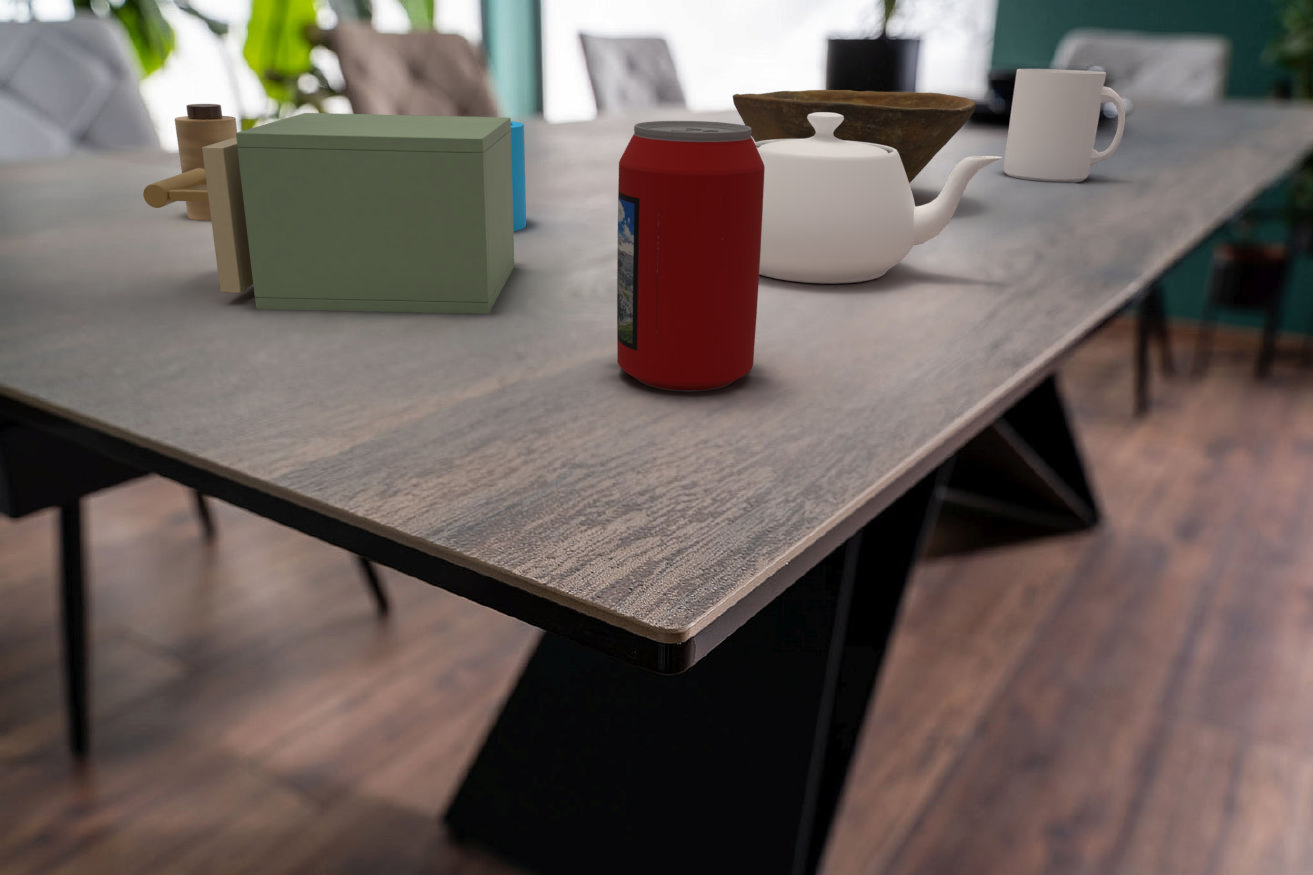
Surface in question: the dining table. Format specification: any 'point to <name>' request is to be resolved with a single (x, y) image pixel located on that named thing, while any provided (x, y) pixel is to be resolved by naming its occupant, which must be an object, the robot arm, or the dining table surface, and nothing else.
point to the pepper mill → (201, 143)
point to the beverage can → (688, 254)
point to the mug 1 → (518, 175)
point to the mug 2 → (1058, 124)
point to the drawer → (215, 209)
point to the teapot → (845, 206)
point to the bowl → (862, 119)
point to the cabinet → (378, 212)
